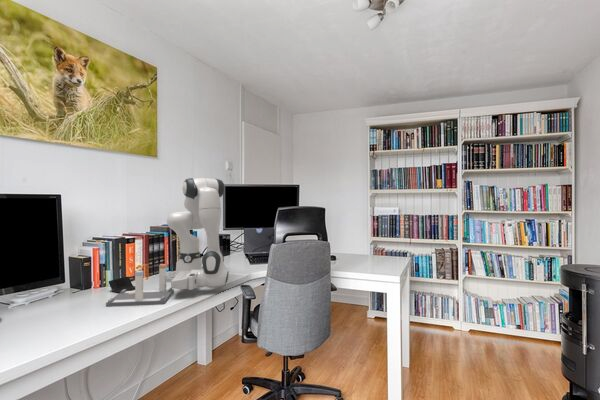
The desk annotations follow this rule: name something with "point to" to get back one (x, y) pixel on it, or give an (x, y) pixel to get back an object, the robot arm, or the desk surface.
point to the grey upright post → (162, 277)
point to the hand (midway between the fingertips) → (165, 279)
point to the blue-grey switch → (139, 285)
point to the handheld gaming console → (121, 285)
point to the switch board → (148, 298)
